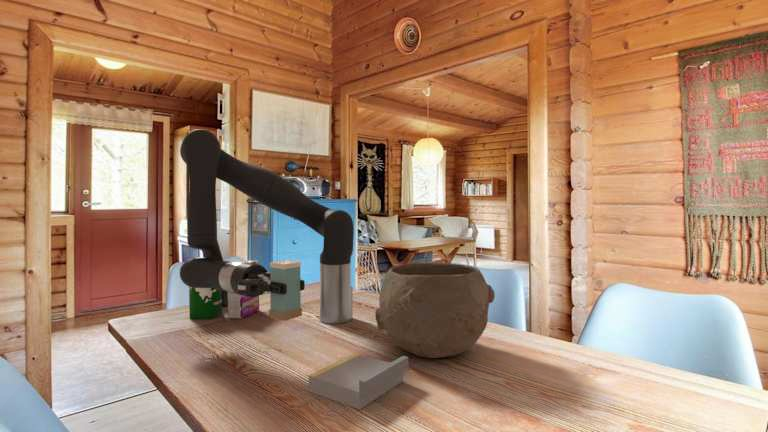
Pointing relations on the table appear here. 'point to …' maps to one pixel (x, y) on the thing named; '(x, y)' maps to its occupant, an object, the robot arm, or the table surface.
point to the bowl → (434, 307)
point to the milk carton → (205, 302)
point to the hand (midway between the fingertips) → (294, 287)
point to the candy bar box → (242, 303)
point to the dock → (357, 379)
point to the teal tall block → (291, 301)
